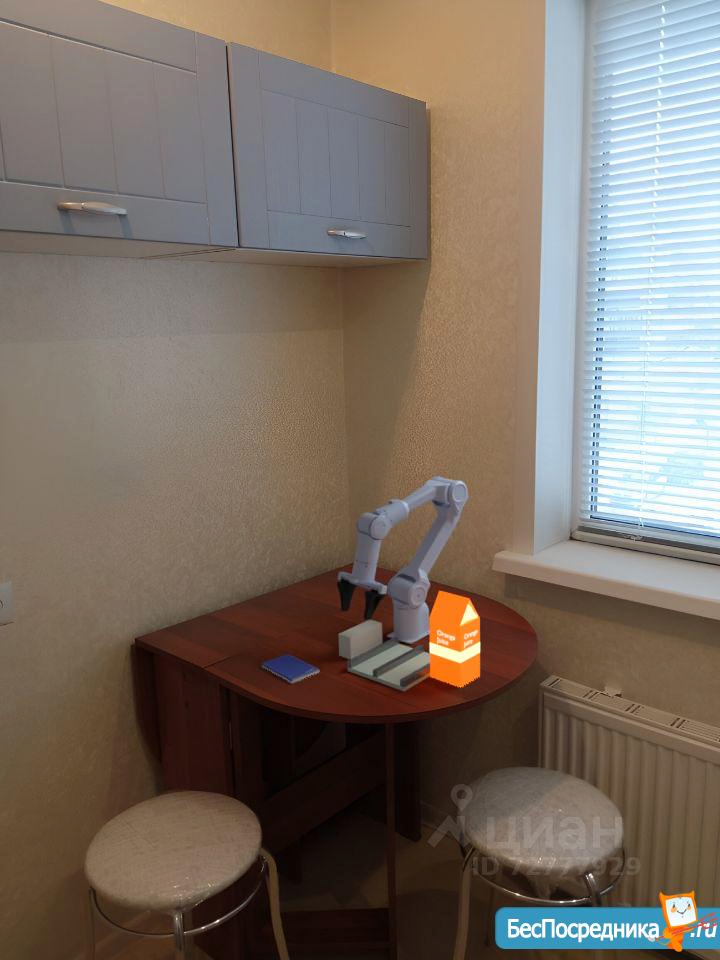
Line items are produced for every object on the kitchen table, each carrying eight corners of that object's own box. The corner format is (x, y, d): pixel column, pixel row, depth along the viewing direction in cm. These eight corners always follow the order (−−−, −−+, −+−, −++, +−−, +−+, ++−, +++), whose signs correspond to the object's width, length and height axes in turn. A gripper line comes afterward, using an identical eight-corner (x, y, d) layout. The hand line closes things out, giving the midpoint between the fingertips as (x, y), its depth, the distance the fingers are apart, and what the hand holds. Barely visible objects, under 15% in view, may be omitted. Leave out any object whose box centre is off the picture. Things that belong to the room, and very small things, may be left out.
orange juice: (450, 665, 181) (449, 586, 177) (480, 676, 175) (480, 594, 171) (429, 677, 175) (428, 595, 171) (460, 688, 169) (459, 603, 165)
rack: (395, 646, 193) (395, 637, 192) (450, 664, 182) (450, 654, 181) (347, 670, 180) (347, 661, 179) (404, 691, 169) (404, 681, 168)
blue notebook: (319, 668, 179) (288, 653, 189) (291, 679, 174) (261, 663, 183) (319, 674, 180) (289, 659, 189) (292, 685, 174) (261, 669, 184)
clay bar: (370, 641, 197) (370, 619, 196) (382, 645, 194) (381, 622, 193) (339, 656, 188) (338, 634, 187) (351, 660, 186) (350, 637, 185)
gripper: (333, 554, 189) (324, 607, 190) (377, 568, 180) (367, 624, 180) (352, 555, 195) (342, 606, 195) (395, 568, 185) (385, 622, 186)
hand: (356, 615), depth 188 cm, fingers open, 7 cm apart
